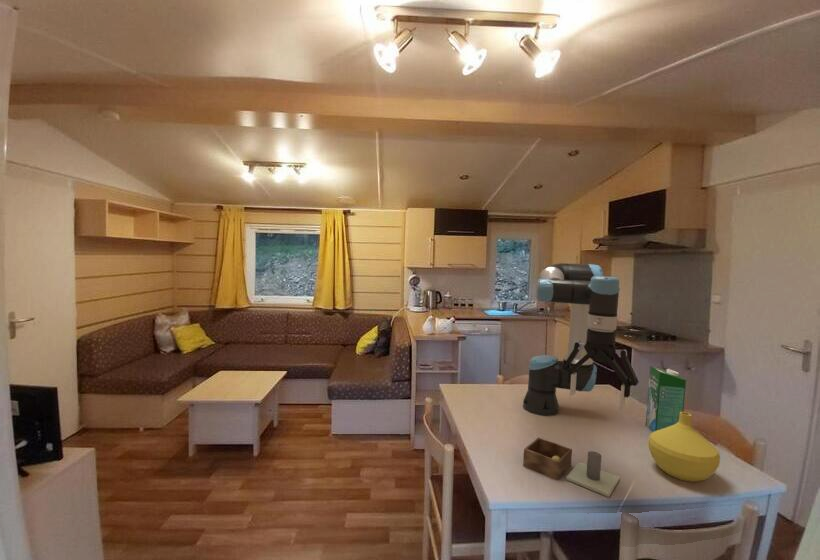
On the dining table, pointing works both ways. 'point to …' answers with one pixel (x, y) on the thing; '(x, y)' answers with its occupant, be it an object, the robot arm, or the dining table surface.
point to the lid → (593, 475)
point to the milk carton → (664, 398)
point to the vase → (683, 451)
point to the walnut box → (547, 458)
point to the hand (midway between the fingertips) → (596, 400)
